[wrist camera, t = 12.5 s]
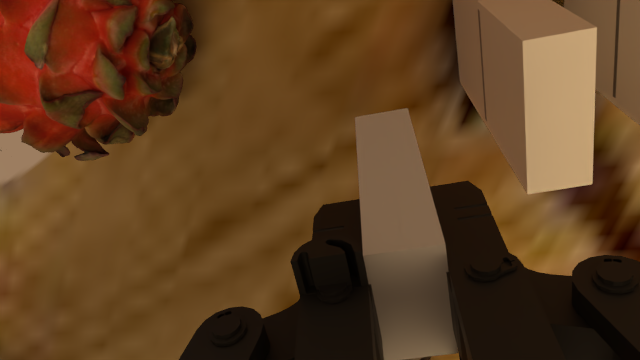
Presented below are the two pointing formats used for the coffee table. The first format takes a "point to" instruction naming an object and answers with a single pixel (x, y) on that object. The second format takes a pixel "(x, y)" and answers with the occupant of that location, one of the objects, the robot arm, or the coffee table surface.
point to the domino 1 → (532, 86)
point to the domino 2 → (615, 49)
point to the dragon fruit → (90, 69)
